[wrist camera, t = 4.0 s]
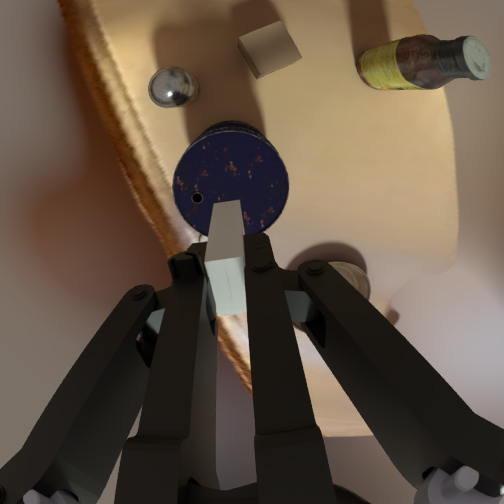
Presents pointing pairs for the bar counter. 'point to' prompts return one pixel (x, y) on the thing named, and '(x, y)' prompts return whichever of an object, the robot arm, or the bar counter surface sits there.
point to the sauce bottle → (423, 63)
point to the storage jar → (231, 177)
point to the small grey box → (268, 49)
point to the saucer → (353, 277)
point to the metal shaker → (173, 88)
